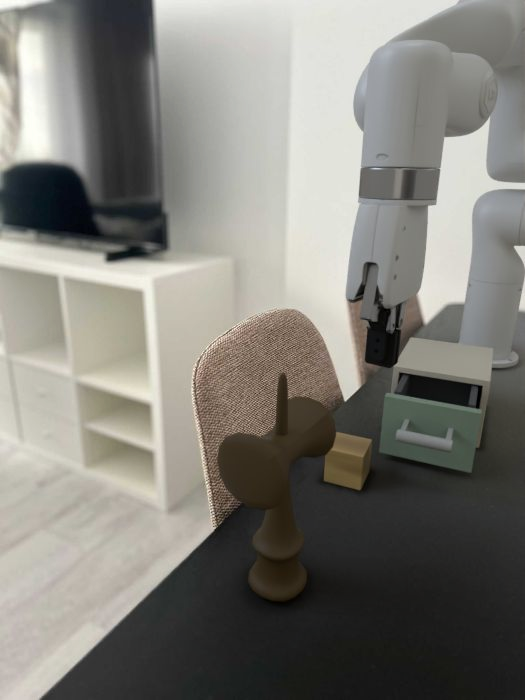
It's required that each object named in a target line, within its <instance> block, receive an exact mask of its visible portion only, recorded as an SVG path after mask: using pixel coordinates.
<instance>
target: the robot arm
mask: <svg viewBox="0 0 525 700" xmlns="http://www.w3.org/2000/svg"><path fill="white" fill-rule="evenodd" d="M368 61H369V62H368V63H367V65H366V66H365V68H364V69H363V71H362V72H361V74H360V77H359V79H358V81H357V84H356V87H355V90H354V94H353V102H352V105H353V106H352V107H353V108H352V109H353V116H354V119H355V122H356V125H357V126H358V128H359V130H360V131H361V132H363V133H362V144H361V145H362V147H361V148H362V149H361V160H360V169H359V185H358V199H357V203H358V207H357V212H356V215H355V216H356V217H355V221H354V226H353V231H352V237H351V242H350V243H351V244H350V252H349V259H348V266H347V275H346V277H347V278H346V285H345V299H346V301H347V302H348V303H351V304H356V303H358V302H360V301H361V307H360V313H359V319H360V320H362V321H365V322H366V323H365V328H366V340H365V353H364V362H365V363H366V364H368V365H373V366H378V367H381V368H386V369H392V368H394V365H395V364H397V363H398V358H399V356H400V347H401V337H402V327H403V325H404V319H405V313H406V307H407V304H408V303H409V301H410V299H411V298H413V297H414V296H415V295H417V294H418V293H419V291H420V290H421V287H422V283H423V278H424V271H425V264H426V263H425V262H426V254H427V253H426V252H427V239H428V225H429V207H430V206H437V202H438V193H439V185H440V176H441V168H442V159H443V152H444V144H445V143H444V142H445V138H456V137H457V138H458V137H463V136H468V135H470V134H473V133H475V132H477V131H478V130H480V129H481V128H482V127H484V125H485V124H486V123H487V122H488V120H489V123H488V124H489V125H488V133H487V146H486V158H485V159H486V160H485V163H486V164H485V165H486V166H485V167H486V172H487V175H488V176H489V178H490V179H492V180H493V181H497V182H500V183H501V182H502V183H513V184H525V0H458V1H457V2H456V4H454V5H452V6H450V7H448V8H445V9H443V10H441V11H440V12H437V13H435V14H433V15H432V16H431V17H429V18H427V19H425V20H422V21H421V22H419V23H417V24H415V25H413V26H411V27H409V28H407V29H405V30H404V31H402V32H400V33H399V34H396V35H395V36H394V37H392V38H391V39H390V40H388V41H387V42H386V43H385V44H383V45H381V46H379V47H378V48H377V49H375V51H374V52H372V55H371V56H370V59H369V60H368ZM471 239H472V241H471V256H470V265H469V271H468V278H467V284H466V291H465V299H464V306H463V311H462V312H463V313H462V317H461V325H460V330H459V331H460V332H459V339H458V342H456V343H457V344H465V345H472V346H479V347H487V348H493V359H492V369H505V368H507V369H508V368H511V367H514V366H516V365H517V364H519V360H520V359H519V358H520V357H519V354H518V353H517V352H515V351H514V350H513V349H512V347H513V342H514V337H515V333H516V327H517V320H518V316H519V310H520V304H521V299H522V294H523V289H524V283H525V263H524V261H523V260H522V258H521V256H520V255H519V252H518V251H517V250H516V248H515V247H525V189H523V188H502V189H501V188H499V189H493V190H489V191H487V192H485V193H483V194H481V195H480V196H479V197H477V199H476V201H475V202H474V205H473V208H472V213H471Z"/></svg>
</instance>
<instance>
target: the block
mask: <svg viewBox="0 0 525 700" xmlns="http://www.w3.org/2000/svg"><path fill="white" fill-rule="evenodd" d="M372 447H373V439H372V438H366V437H362V436H357V435H353V434H352V435H351V434H348V433H343V432H339V431H336V437H335V441H334V445H333V448H332V449H331V450H330V451H329V452H328V453H327V455H324V470H323V471H324V472H323V481H324V482H326V483H329V484H333V485H337V486H341V487H345V488H349V489H353V490H357V491H361V490H362V488H363V486H364V484H365V482H366V480H367V478H368V475H369V473H370V471H371V470H370V469H371V468H370V467H371V458H372V449H373V448H372Z"/></svg>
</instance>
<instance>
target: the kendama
mask: <svg viewBox="0 0 525 700" xmlns="http://www.w3.org/2000/svg"><path fill="white" fill-rule="evenodd" d="M288 385H289V384H288V377H287V374H286V373H285V372H281V373H280V374H279V377H278V381H277V390H276V402H275V403H276V404H275V406H276V407H275V423H274V426H273V427H272V428H271V429H270V430H269V431H267V432H266V433H264V434H263V435H257V434H252V433H246V432H245V433H244V432H236V433H232V434H228V435H227V436H225V437H224V439H223V440H222V442H221V443H220V445H219V446H218V450H217V458H216V462H217V468H218V474H219V477H220V479H221V481H222V483H223V485H224V488H225V489H226V490H227V491H228V493H230V495H232V497H233V498H234V499H235V500H237V501H238V502H240V503H241V504H243V505H245V506H246V507H248V508H251V509H255V510H258V511H265V514H264V517H263V521H262V525H261V527H259V528H258V529H257V530H256V532H255V533H254V535H253V537H252V542H251V543H252V547H253V548H254V550H255V552H256V553H257V557H256V561H255V562H254V563H253V565H252V566H251V568H250V569H249V571H248V577H247V584H248V585H249V586H250V588H251V590H252V592H254V593H255V594H256V595H258V596H259V597H261V598H263V599H265V600H269V601H270V602H283V603H284V602H287V601H291V600H292V599H294V598H296V597H297V596H298V595H299V594H300V593H302V592H303V591H304V589H305V586H306V584H307V582H308V575H307V573H308V572H307V569H306V568H305V567H304V565H303V564H302V563H301V562H300V561H299V560H300V559H299V556H300V553H301V551H302V549H303V548H304V546H305V544H306V541H305V539H306V537H305V533H304V532H303V531H302V530H301V529H300V527H298V526H297V524H296V520H295V515H294V509H293V501H292V492H291V485H290V484H291V483H290V468H291V467H292V466H293V465H294V464H295V463H296V462H297V461H298V460H300V459H302V458H310V459H315V458H321V457H323V456H324V457H325V455H327V453H328V452H329V451H330V450H331V449H332V448H333V445H334V441H335V437H336V432H337V427H336V421H335V419H334V417H333V415H332V413H331V411H330V410H329V409H328V408H327V407H326V406H325V405H324V404H323V403H321V401H319V400H317V399H315V398H312V397H310V396H301V395H297V396H293V397H290V398H289V388H288V387H289V386H288Z"/></svg>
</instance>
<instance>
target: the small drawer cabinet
mask: <svg viewBox="0 0 525 700" xmlns="http://www.w3.org/2000/svg"><path fill="white" fill-rule="evenodd" d="M457 343H458V342H449V341H442V340H436V339H435V340H434V339H426V338H420V337H411V336H410V337H409V339H408V341H407V343H406V345H405V346H404V348H403V349H402V351H401V353H400V354H399V356H398V363H397V364H395V365H394V366H393V371H392V380H391V387H390V388H391V391H390V393H392V394H394V391H395V389H396V387H397V385H398V383H399V381H400V379H401V378H402V376H403V374H404V373H407V374H413V375H419V376H425V377H432V378H438V379H444V380H450V381H456V382H462V383H469V384H475V385H479V386H478V393H477V400H476V407H475V408H476V409H481V410H482V414H481V420H480V425H479V431H478V437H477V443H476V449H477V448H478V449H479V448H480V445H481V439H482V433H483V428H484V421H485V417H486V411H487V404H488V399H489V395H490V394H489V393H490V387H491V381H492V370H493V368H492V359H493V348H487V347H479V346H472V345H465V344H457Z"/></svg>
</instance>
